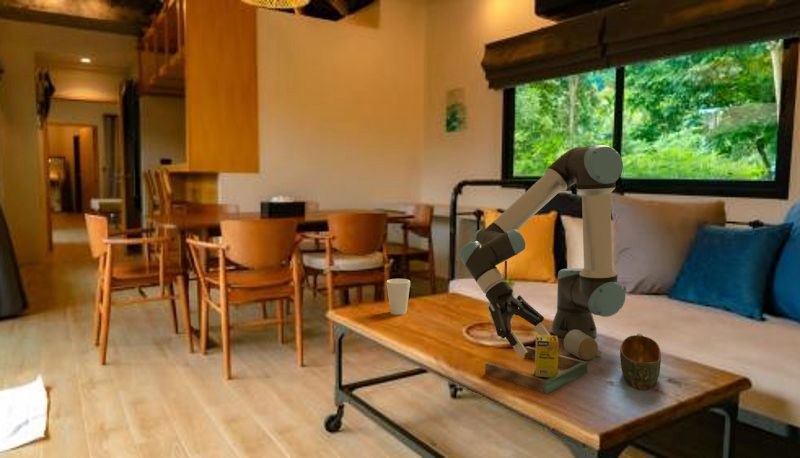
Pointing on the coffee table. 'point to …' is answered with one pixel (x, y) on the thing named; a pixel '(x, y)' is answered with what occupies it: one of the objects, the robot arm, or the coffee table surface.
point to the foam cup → (398, 295)
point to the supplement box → (546, 356)
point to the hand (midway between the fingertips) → (537, 349)
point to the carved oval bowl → (640, 361)
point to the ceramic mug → (581, 345)
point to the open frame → (546, 386)
